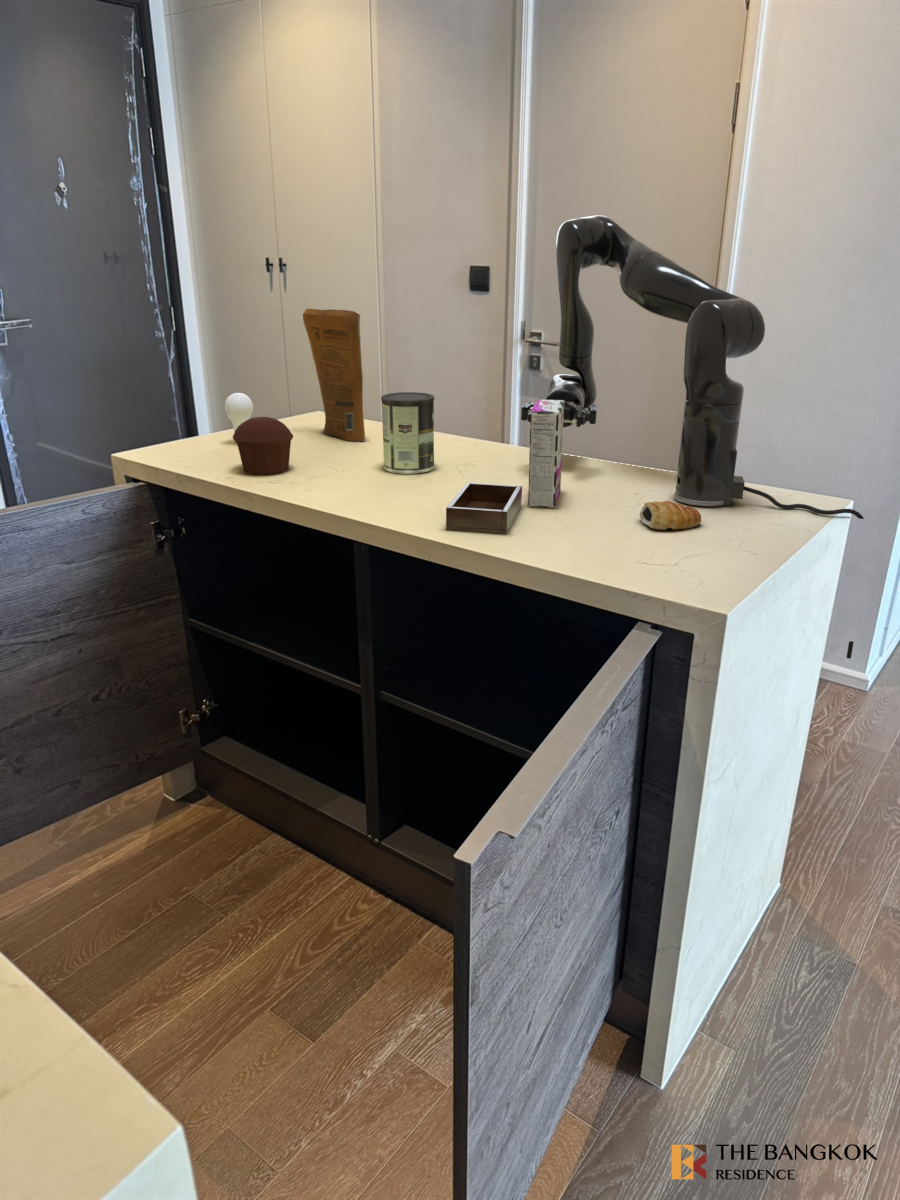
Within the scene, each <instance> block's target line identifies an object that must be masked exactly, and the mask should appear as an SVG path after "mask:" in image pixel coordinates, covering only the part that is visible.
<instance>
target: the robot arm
mask: <svg viewBox="0 0 900 1200" xmlns="http://www.w3.org/2000/svg"><path fill="white" fill-rule="evenodd" d="M555 244H556V245H555V257H556V258H555V259H556V270H557V272H556V273H557V287H558V295H559V296H558V297H559V308H560V332H559V344H558V345H559V349H558V362H559V364H560V365H561V366H562V367H563V368H565V369H567V370H570V371H574V372H575V373H577V374H571V373H558V374H557V373H556V374H554V375H553V376H552V377H551V379H550V380H549V383H548V386H547V387H548V388H547V396H546V397H545V400H563V401H564V417H563V428H568V427H571V426H573V425H576V428H581V426H584V425H586V424H587V422H588V424H590V425H595V424H597V413H598V412H597V411H598V406H597V404H595V402H596V400H597V397H598V390H597V389H598V387H597V382H596V379H595V373H594V368H593V351H594V341H595V340H594V339H595V326H594V321H593V317H592V315H591V313H590V311H589V308H588V307H587V305H586V303H585V301H584V298H583V296H582V294H581V291H580V276H581V275H580V274H581V270H584V269H589V268H595V267H602V266H605V267H609V268H611V269H613V270H615V271H617V272H618V280H619V285H620V288H621V291H622V293H623V294H624V296H625V297H626V298H628V299H629V300H630V301H631V302H633V303H634V304H635V305H637V306H639V307H640V308H641V309H643V310H644V311H646V312H648V313H650V314H653V315H656V316H658V317H660V318H661V317H662V318H665V319H668V320H672V321H676V322H680V323H683V324H686V329H685V330H686V331H685V340H684V356H683V357H684V360H683V385H684V387H685V399H684V407H683V418H682V425H681V426H682V427H681V436H680V445H679V453H678V454H679V455H678V463H677V472H676V475H675V477H674V482H675V488H674V489H675V490H674V495H673V498H674V499H675V500H676V501H677V502H679V503H681V504H686V505H688V506H689V505H690V506H696V507H723V506H727V507H728V506H729V507H730V506H731V502H732V500H733V499H735V500H743V497H744V491H745V492H748V493H751V494H755V495H757V496H759V497H763V498H765V499H767V500H768V501H769V502H771V504H773V505H774V506H775V507H777V508H780V509H782V510H783V509H784V510H792V509H803V510H807V511H810V512H812V513H815V514H819V515H825V516H829V515H830V516H831V515H839V514H851V515H853V516H855V517H856V518H857V519H859V520H860V519H861V520H864V519H865V517H864V516H863V515H862V514H861V513H860V512H859V511H857V510H855V509H852V508H839V509H838V508H837V509H831V510H825V509H821V508H817V507H814V506H812V505H809V504H806V503H805V504H804V503H793V504H783V503H780V502H779V501H778V500H776V499H775V498H774V497H773V496H772V495H770V494H768V493H766V492H764V491H761V490H758V489H755V488H751V487H749V486H745V484H746V483H745V479H744V477H743V475H742V476H741V475H735V471H736V464H737V456H738V450H737V446H738V445H737V444H738V438H739V437H738V436H739V429H740V423H741V414H742V408H743V406H742V405H743V402H744V401H743V400H744V394H745V393H744V390H745V389H744V385H743V384H742V383H741V382H739V381H737V380H734V379H732V378H731V377H730V376H729V375H728V374H727V359H736V358H742V357H744V356H747V355H750V354H751V353H753V352H754V351H756V350H757V349H759V347H760V345H761V344H762V343H763V340H764V338H765V335H766V324H765V320H764V317H763V314H762V312H761V311H760V309H759V308H758V307H757V305H756V304H754V303H753V302H752V301H750V300H748V299H745V298H743V297H741V296H738V295H735V294H732V293H730V292H728V291H725V290H723V289H720V288H719V287H716V286H714V285H712V284H711V283H709V282H707V281H706V280H704V279H703V278H701V277H699V276H698V275H697V274H695V273H693V272H692V271H689V270H688V269H687V268H685V267H684V266H682V265H680V264H678V263H677V262H676V261H674V260H673V259H671V258H669V257H668V256H666V255H664V254H662V253H660V252H658V251H656V250H654V249H652V248H651V247H650V246H647V245H646V244H644V243H643V242H641V241H640V240H638V239H636V238H634V236H632V235H631V234H630V233H629V232H627V231H626V230H625V229H624V228H623V227H621V226H620V225H619V224H618V223H617V222H615V221H614V220H613V219H612V218H610V217H608V216H605V215H599V214H595V215H591V216H584V217H579V218H572V219H569V220H566V221H564V222H563V223H562V224H561V225H560V226H559V228H558V231H557V234H556V242H555ZM534 406H535V403H534V402H533V401H532V402H531V401H527V402H525V403H524V404H523V405H522V406H521V407H520V410H521V411H520V420H521V421H523V422H524V421H525V422H526V421H527V422H528V423H530V417H531V416H530V414H531V413H530V412H531V411H532V409H533V407H534ZM853 648H854V641H852V640H849V641H848V645H847V652H846V659H852V654H853Z"/></svg>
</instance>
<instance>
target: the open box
mask: <svg viewBox="0 0 900 1200" xmlns="http://www.w3.org/2000/svg"><path fill="white" fill-rule="evenodd" d="M522 497H523V485H516V484H515V485H514V484H498V483H495V484H494V483H481V482H467V481H466V483H465V484H464V485H463V487H462V488H460V490H459V492H458V493H457V494H456V495H455V496H454V498H453V499H452V500H451V501H450V502H449V503H448V505H447V506H446V507H445V530H447V531H459V532H473V533H485V534H498V535H499V534H500V535H507V534H508V532H509V530H510V528H511V526H512V524H513V523H514V521H515V519H516V517H517V515H518V513H519V511H520V509H521V507H522V499H523V498H522Z"/></svg>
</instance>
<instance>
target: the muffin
mask: <svg viewBox="0 0 900 1200" xmlns="http://www.w3.org/2000/svg"><path fill="white" fill-rule="evenodd" d="M293 438H294V434H293V433H292V431H291V430H290V428H289V427H288V426H287V425H286V424H285V423H283V422H282V421H280V420H279V419H277V418H273V417H269V416H255V417H250V419H248V420H246V421H245V422H243V423H242V424H240V425H239V426H238V427H237V429H236V430H235V431H234V432H233V435H232V440H233V441H234V442H235V443H236V445H237V449H238V453H239V457H240V461H241V466H242V469H243V472H244V474H249V475H252V476H257V475H258V476H269V475H270V476H271V475H276V474H282V473H284V472H287V471H289V467H290V458H291V457H290V456H291V443H292V440H293Z"/></svg>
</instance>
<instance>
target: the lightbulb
mask: <svg viewBox="0 0 900 1200" xmlns="http://www.w3.org/2000/svg"><path fill="white" fill-rule="evenodd" d="M224 411H225V414H226V415H227V417H228V419H229V420H230V422H231V424H232V429H233V432H235V430H236V429H237V427H238V426H239V425H240V424H242V423H243V422H245V421H246V420H248V419H251V418H252V417H251V416H252V414H253V411H254V404H253V400H252V399H251V398H250V397H249V395H247V394H245V393H242V392H233V393H231V394H230V395H228V396H227V397H226V399H225V401H224Z"/></svg>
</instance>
